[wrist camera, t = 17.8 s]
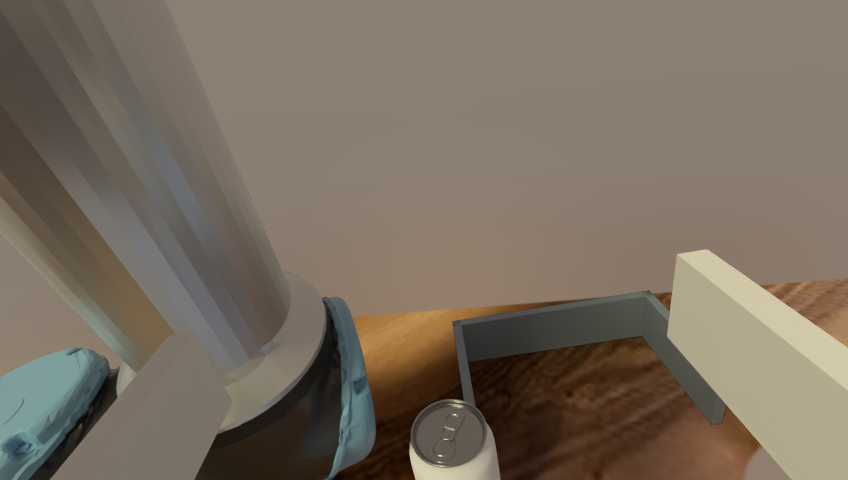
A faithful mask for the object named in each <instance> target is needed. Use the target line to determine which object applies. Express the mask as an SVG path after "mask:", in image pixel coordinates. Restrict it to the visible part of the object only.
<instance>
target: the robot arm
mask: <svg viewBox="0 0 848 480" xmlns="http://www.w3.org/2000/svg"><path fill="white" fill-rule="evenodd" d="M0 233H1V234H2V235H3V236H4V237H5V238H6V239H7V240H8V241H9V242H10V243H11V244H12V245H13V246H14V247H15V248H16V249H17V251H18V252H20V254H21V255H22V256H23V257H24V258H25V259H26V260H27V261H28V262H29V263H30V264H31V265H32V266H33V267H34V268H35V269H36V270H37V271H38V272H39V273H40V274H41V276H42V277H44V279H45V280H46V281H47V282H48V283H49V284H50V285H51V286H52V287H53V288H54V289H55V290H56V291H57V292H58V293H59V294H60V295H61V296H62V297H63V298H64V299H65V300H66V302H67V303H68V304H69V305H70V306H71V307H72V308H73V309H74V310H75V311H76V312H77V313H78V314H79V315H80V316H81V317H82V318H83V319H84V320H85V321H86V322H87V323H88V324H89V325H90V326H91V327H92V329H93V330H94V331H95V332H96V333H97V334H98V335H99V336H100V337H101V338H102V339H103V340H104V341H105V342H106V343H107V344H108V345H109V346H110V347H111V348H112V349H113V350H114V351H115V353H116V354H118V356H120V358H121V359H122V360H123V361H122V364H121V367H120V368H118V369H109V365H108V364H109V362H108V360H107V359H106V358H105V357H104V356H100V355H99V354H97V353H96V352H95V351H94V350H90V349H83V348H70V349H65V350H61V351H58V352H54V353H51V354H48V355H45V356H43V357H41V358H38V359H36V360H34V361H31V362H29V363H27V364H25V365H22V366H20V367H18V368H16V369H14V370H12V371H11V372H9V373H7V374H5V375H3V376H1V377H0V480H331V479H332V478H333V477H334V476H335V475H336V474H337V473H338V472H340V471H341V470H343V469H345V468H347V467H349V466H351V465H353V464H355V463H357V462H359V461H361V460H363V459H364V458H365V457H366V456H367V455H368V454H369V453H370V451H371V450H372V448H373V445H374V442H375V437H376V423H375V414H374V407H373V401H372V396H371V390H370V387H369V384H368V382H367V374H366V368H365V361H364V357H363V353H362V349H361V345H360V341H359V338H358V334H357V331H356V327H355V324H354V321H353V318H352V316H351V313H350V310H349V308H348V306H347V304H346V302H345V301H344V300H343V299H341V298H338V297H332V298H328V297H324V298H321V297H320V295H319V294H318V292H317V290H316V289H315V288H314V286H313V285H312V284H310V283H309V282H308V281H307V280H305V279H303V278H302V277H300V276H298V275H295V274H293V273H290V272H285V271H282V269H281V267H280V265H279V262H278V260H277V258H276V255H275V253H274V251H273V248H272V246H271V244H270V241H269V239H268V237H267V235H266V232H265V230H264V228H263V225H262V223H261V221H260V218H259V216H258V214H257V211H256V209H255V207H254V204H253V202H252V200H251V197H250V195H249V193H248V190H247V188H246V186H245V183H244V181H243V179H242V177H241V174H240V172H239V169H238V167H237V165H236V163H235V160H234V158H233V156H232V153H231V151H230V149H229V146H228V144H227V142H226V139H225V137H224V135H223V132H222V130H221V128H220V125H219V123H218V121H217V119H216V116H215V114H214V111H213V109H212V107H211V105H210V102H209V100H208V98H207V95H206V93H205V91H204V88H203V86H202V84H201V81H200V79H199V77H198V75H197V72H196V70H195V67H194V65H193V63H192V60H191V58H190V56H189V53H188V51H187V49H186V46H185V44H184V42H183V39H182V37H181V35H180V33H179V30H178V28H177V26H176V24H175V21H174V19H173V16H172V14H171V12H170V9H169V7H168V5H167V2H166V0H0ZM667 337H668V338H669V339H670V341H671V342H672V343H673V344H674V345H675V346H676V347H677V349H678V350H679V351H680V352H681V353H682V354H683V355H684V357H685V358H686V359H687V360H688V361H689V362H690V364H691V365H692V366H693V367H694V368H695V369H696V370H697V372H698V373H699V374H700V375H701V376H702V377H703V378H704V380H705V381H706V382H707V383H708V384H709V385H710V387H711V388H712V389H713V390H714V391H715V392H716V393H717V395H718V396H719V397H720V398H721V399H722V400H723V401H724V403H725V404H726V405H727V406H728V407H729V408H730V410H731V411H732V412H733V413H734V414H735V415H736V416H737V418H738V419H739V420H740V421H741V422H742V423H743V424H744V426H745V427H746V428H747V429H748V430H749V431H750V433H751V434H752V435H753V436H754V437H755V438H756V439H757V441H758V442H759V443H760V444H761V445H762V446H763V447H764V449H765V450H766V451H767V452H768V453H769V454H770V456H771V457H772V458H773V459H774V460H775V461H776V462H777V464H778V465H779V466H780V467H781V468H782V469H783V470H784V472H785V473H786V474H787V475H788V476H789V477H790V478H791V480H848V348H847V347H846V346H844V345H843V344H842V343H840V342H839V341H837V340H836V339H834V338H833V337H832V336H830V335H829V334H827V333H826V332H824V331H823V330H822V329H820V328H819V327H817V326H816V325H814V324H813V323H812V322H810V321H809V320H807V319H806V318H804V317H803V316H802V315H800V314H799V313H797V312H796V311H794V310H793V309H792V308H790V307H789V306H787V305H786V304H784V303H783V302H782V301H780V300H779V299H777V298H776V297H774V296H773V295H772V294H770V293H769V292H767V291H766V290H764V289H763V288H762V287H760V286H759V285H757V284H756V283H754V282H753V281H751V280H750V279H749V278H747V277H746V276H744V275H743V274H742V273H740V272H738V271H737V270H736V269H734V268H733V267H732V266H730V265H729V264H727V263H726V262H724V261H723V260H722V259H720V258H719V257H717V256H716V255H714V254H713V253H712V252H710V251H709V250H707V249H706V250H700V251H694V252H688V253H681V254H677V259H676V267H675V275H674V283H673V291H672V299H671V307H670V316H669V324H668V332H667Z"/></svg>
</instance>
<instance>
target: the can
mask: <svg viewBox="0 0 848 480" xmlns="http://www.w3.org/2000/svg"><path fill="white" fill-rule="evenodd" d="M409 454H410V461H411V465H412V468H413V472H414V476H415V479H416V480H501V479H500V472H499V465H498V458H497V452H496V446H495V440H494V437H493V433H492V431H491V429H490V427H489V425H488V424H487V423H486V421H485V418H484V416H483V415H482V413H481V412H480V411H479V410H478V409H477V408H476V407H475V406H473V405H472V404H470V403H468V402H465V401H462V400H457V399H446V400H441V401H438V402H435V403H433V404H431V405H429V406H427V407H426V408H425V409H424V410H422V411H421V412H420V413H419V415H418V416H417V417H416V419H415V421H414V423H413V425H412V428H411V441H410V446H409Z"/></svg>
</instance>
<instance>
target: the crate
mask: <svg viewBox="0 0 848 480" xmlns="http://www.w3.org/2000/svg"><path fill="white" fill-rule="evenodd" d="M669 316H670V312H669V311H668V310H667V309H666V307H665V306H664V305H663V304H662V303H661V302H660V301H659V300H658V299H657V298H656V297H655V296H654V295H653V294H652V293H651V292H650V291H649V290H648V291H642V292H636V293H630V294H623V295H617V296H610V297H604V298H598V299H591V300H585V301H579V302H572V303H566V304H560V305H553V306H547V307H540V308H534V309H528V310H521V311H515V312H509V313H502V314H496V315H490V316H483V317H477V318H471V319H464V320H458V321H452V323H453V330H454V336H455V343H456V350H457V357H458V364H459V370H460V377H461V384H462V391H463V398H464V401H465V402H468V403H470V404H472V405H473V406H475V401H474V395H473V389H472V384H471V378H470V372H469V367H468V362H473V361H479V360H486V359H492V358H499V357H505V356H512V355H519V354H525V353H532V352H538V351H545V350H551V349H558V348H565V347H571V346H578V345H584V344H591V343H597V342H604V341H611V340H617V339H624V338H630V337H637V336H642V337H643V338H644V339H645V341H646V342H647V343H648V345H649V346H650V347H651V348H652V350H653V351H654V352H655V353H656V355H657V356H658V357H659V359H660V360H661V361H662V362H663V364H664V365H665V366H666V367H667V369H668V370H669V371H670V373H671V374H672V375H673V376H674V378H675V379H676V380H677V381H678V383H679V384H680V385H681V387H682V388H683V389H684V390H685V392H686V393H687V394H688V395H689V397H690V398H691V399H692V401H693V402H694V403H695V404H696V406H697V407H698V408H699V409H700V411H701V412H702V413H703V415H704V416H705V417H706V418H707V420H708V421H709V422H710V423H711V425H712V424H719V423H722V421H723V417H724V412H725V408H726V404H725V403H724V401H723V400H722V399H721V398H720V397H719V396H718V395H717V393H716V392H715V391H714V390H713V389H712V388H711V387H710V385H709V384H708V383H707V382H706V381H705V380H704V378H703V377H702V376H701V375H700V374H699V373H698V372H697V370H696V369H695V368H694V367H693V366H692V365H691V364H690V362H689V361H688V360H687V359H686V358H685V357H684V355H683V354H682V353H681V352H680V351H679V350H678V349H677V347H676V346H675V345H674V344H673V343H672V342H671V341H670V339H669V338H668V337H667V332H668V324H669ZM475 407H476V406H475Z"/></svg>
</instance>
